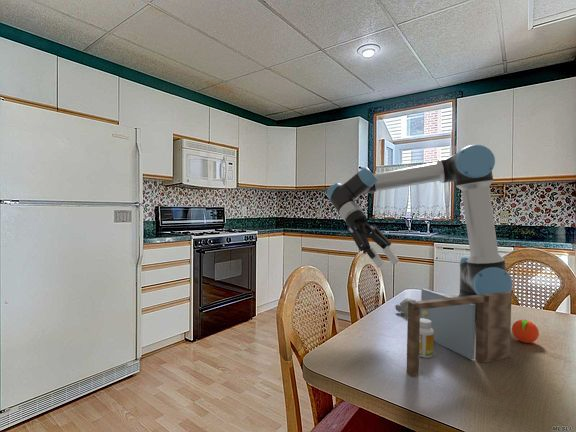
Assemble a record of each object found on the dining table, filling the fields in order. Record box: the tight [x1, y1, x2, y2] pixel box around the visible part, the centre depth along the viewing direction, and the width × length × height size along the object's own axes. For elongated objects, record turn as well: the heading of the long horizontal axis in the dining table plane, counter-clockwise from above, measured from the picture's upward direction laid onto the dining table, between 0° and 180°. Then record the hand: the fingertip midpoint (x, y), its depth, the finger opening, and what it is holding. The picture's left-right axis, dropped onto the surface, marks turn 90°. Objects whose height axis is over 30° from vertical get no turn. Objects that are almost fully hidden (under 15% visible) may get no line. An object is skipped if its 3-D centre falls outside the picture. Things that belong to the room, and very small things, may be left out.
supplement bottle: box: [419, 318, 435, 359], centre depth 93 cm, size 5×5×10 cm
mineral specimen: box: [394, 298, 421, 318], centre depth 125 cm, size 16×7×7 cm, turn 25°
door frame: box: [405, 292, 512, 378], centre depth 87 cm, size 34×2×18 cm, turn 110°
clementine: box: [511, 319, 540, 344], centre depth 102 cm, size 8×7×7 cm
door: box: [420, 288, 476, 360], centre depth 98 cm, size 19×3×15 cm, turn 20°
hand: (388, 263), depth 111 cm, fingers open, 8 cm apart
